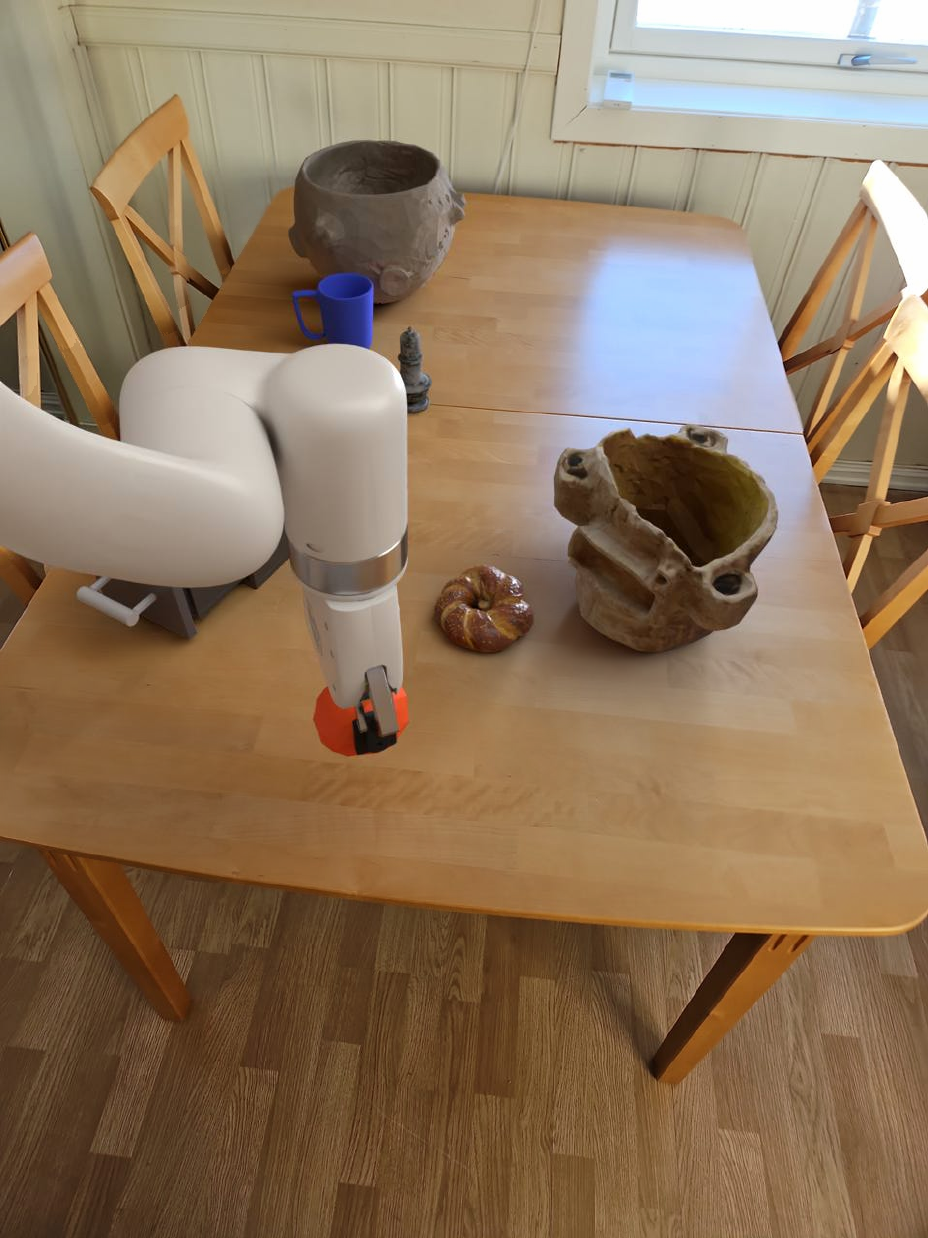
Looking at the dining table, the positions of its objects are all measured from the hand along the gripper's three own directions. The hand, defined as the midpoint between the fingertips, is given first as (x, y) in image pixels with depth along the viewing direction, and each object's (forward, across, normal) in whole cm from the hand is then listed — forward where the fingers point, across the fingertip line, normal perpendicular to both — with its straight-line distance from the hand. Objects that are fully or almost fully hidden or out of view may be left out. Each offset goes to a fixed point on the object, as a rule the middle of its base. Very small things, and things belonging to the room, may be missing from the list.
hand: (360, 706), depth 65 cm
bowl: (+15, -94, +31) cm, 100 cm away
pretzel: (+15, -18, +19) cm, 30 cm away
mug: (+15, -78, +19) cm, 82 cm away
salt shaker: (+15, -60, +25) cm, 67 cm away
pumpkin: (+3, 0, 0) cm, 3 cm away
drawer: (+15, -33, -12) cm, 38 cm away
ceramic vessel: (+15, -11, +37) cm, 41 cm away
